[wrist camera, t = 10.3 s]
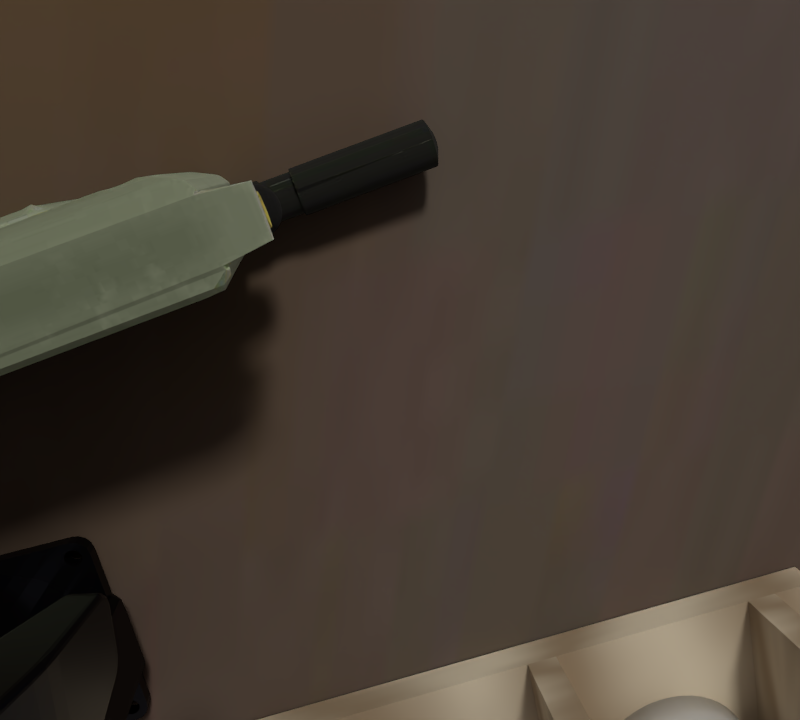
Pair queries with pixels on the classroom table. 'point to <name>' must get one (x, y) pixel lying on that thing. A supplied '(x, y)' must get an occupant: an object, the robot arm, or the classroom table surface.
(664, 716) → the white bulb knob
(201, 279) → the handheld radio
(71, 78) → the classroom table surface
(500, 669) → the slot rack
